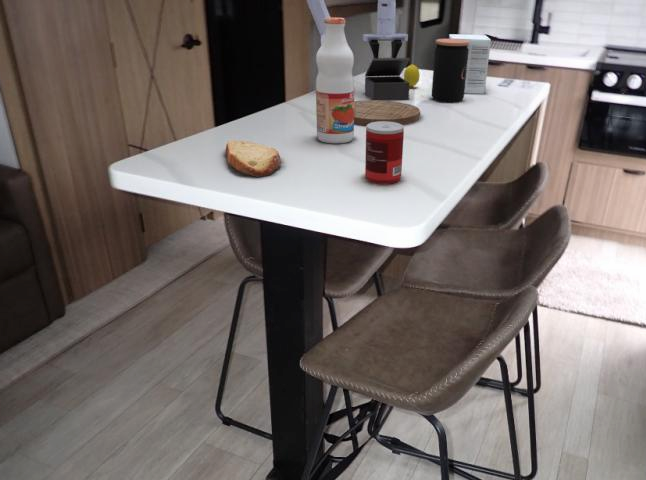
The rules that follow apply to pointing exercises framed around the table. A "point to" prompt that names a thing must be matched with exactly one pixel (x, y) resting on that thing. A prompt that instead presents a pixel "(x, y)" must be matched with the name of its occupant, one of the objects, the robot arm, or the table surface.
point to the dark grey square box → (387, 88)
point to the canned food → (384, 152)
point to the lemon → (412, 75)
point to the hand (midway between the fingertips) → (384, 64)
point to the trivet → (384, 112)
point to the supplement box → (476, 61)
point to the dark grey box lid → (387, 66)
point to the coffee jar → (450, 70)
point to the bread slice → (252, 158)
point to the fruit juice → (335, 85)
